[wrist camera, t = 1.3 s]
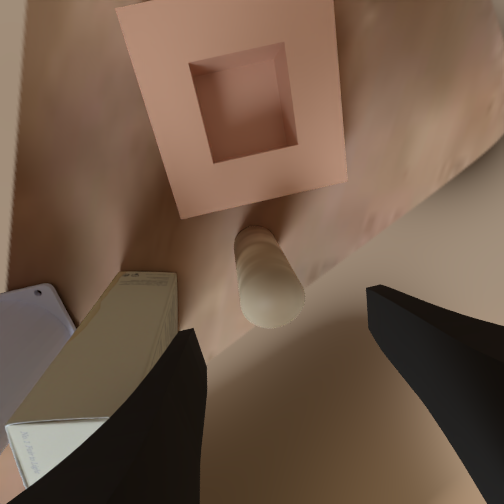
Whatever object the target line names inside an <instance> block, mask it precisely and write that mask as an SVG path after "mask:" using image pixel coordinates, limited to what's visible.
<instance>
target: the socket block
mask: <svg viewBox="0 0 504 504" xmlns="http://www.w3.org/2000/svg"><path fill="white" fill-rule="evenodd" d="M115 10H116V13H117V16H118V20H119V23H120V26H121V29H122V32H123V36H124V39H125V42H126V45H127V48H128V52H129V55H130V58H131V61H132V64H133V68H134V71H135V74H136V77H137V80H138V84H139V87H140V90H141V93H142V96H143V100H144V103H145V106H146V109H147V112H148V116H149V119H150V122H151V125H152V128H153V132H154V135H155V138H156V141H157V144H158V148H159V151H160V154H161V157H162V160H163V164H164V167H165V170H166V173H167V176H168V180H169V183H170V186H171V189H172V192H173V196H174V199H175V202H176V205H177V208H178V212H179V215H180V218H181V220H182V219H186V218H190V217H195V216H199V215H203V214H208V213H212V212H216V211H221V210H225V209H230V208H234V207H238V206H243V205H247V204H251V203H256V202H260V201H264V200H269V199H273V198H278V197H282V196H286V195H291V194H295V193H299V192H304V191H308V190H312V189H317V188H321V187H326V186H330V185H334V184H339V183H343V182H347V181H348V178H347V165H346V153H345V140H344V128H343V115H342V102H341V90H340V77H339V64H338V52H337V39H336V26H335V14H334V1H333V0H152V1H147V2H142V3H138V4H133V5H128V6H124V7H119V8H115Z"/></svg>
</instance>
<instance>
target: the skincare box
mask: <svg viewBox="0 0 504 504" xmlns="http://www.w3.org/2000/svg"><path fill="white" fill-rule="evenodd" d="M177 333H178V297H177V275H176V273H168V272H133V271H132V272H119V273H118V274H117V275H116V277H115V278H114V279H113V281H112V282H111V283H110V285H109V286H108V287H107V289H106V290H105V291H104V293H103V294H102V295H101V297H100V298H99V300H98V301H97V302H96V304H95V305H94V306H93V308H92V309H91V310H90V312H89V313H88V314H87V316H86V317H85V318H84V320H83V321H82V322H81V324H80V325H79V326H78V328H77V329H76V331H75V332H74V333H73V335H72V336H71V337H70V339H69V340H68V341H67V343H66V344H65V346H64V347H63V348H62V349H61V351H60V352H59V354H58V355H57V356H56V358H55V359H54V360H53V362H52V363H51V364H50V366H49V367H48V368H47V370H46V371H45V372H44V374H43V375H42V376H41V378H40V379H39V380H38V382H37V383H36V385H35V386H34V387H33V388H32V390H31V391H30V393H29V394H28V395H27V397H26V398H25V399H24V400H23V402H22V403H21V404H20V406H19V407H18V408H17V410H16V411H15V413H14V414H13V415H12V417H11V418H10V419H9V420H8V422H7V423H6V425H5V430H6V433H7V436H8V440H9V443H10V447H11V450H12V452H13V455H14V459H15V461H16V464H17V467H18V470H19V473H20V476H21V478H22V480H23V484H24V486H25V489H27V488H28V487H30V486H31V485H32V484H34V483H35V482H36V481H38V480H39V479H40V478H41V477H43V476H44V475H45V474H47V473H48V472H49V471H50V470H52V469H53V468H54V467H55V466H56V465H58V464H59V463H60V462H61V461H62V460H64V459H65V458H66V457H67V456H68V455H70V454H71V453H72V452H73V451H74V450H75V449H77V448H78V447H79V446H80V445H81V444H82V443H83V442H84V441H85V440H87V439H88V438H89V437H90V436H91V435H92V434H93V433H94V432H95V431H96V430H97V429H98V428H99V427H100V426H101V425H102V424H103V423H105V422H106V421H107V420H108V419H109V418H110V417H111V416H112V415H113V414H114V413H115V411H116V410H117V409H118V408H119V407H120V406H121V405H122V404H123V403H124V402H125V401H126V400H127V399H128V397H129V396H130V395H131V394H132V393H133V392H134V391H135V389H136V388H137V387H138V386H139V384H140V383H141V382H142V381H143V379H144V378H145V377H146V376H147V374H148V373H149V372H150V371H151V369H152V368H153V367H154V365H155V364H156V363H157V361H158V360H159V358H160V357H161V356H162V354H163V353H164V351H165V350H166V349H167V347H168V346H169V344H170V343H171V341H172V340H173V339H174V337H175V336H176V334H177Z"/></svg>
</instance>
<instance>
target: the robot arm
mask: <svg viewBox="0 0 504 504" xmlns="http://www.w3.org/2000/svg"><path fill="white" fill-rule="evenodd" d="M37 290H39V291H41V292H42V294H41V293H39V292H38V291H37ZM366 294H367V311H368V328H369V330H370V332H371V333H372V335H373V337H374V339H375V341H376V342H377V344H378V345H379V347H380V348H381V350H382V351H383V352H384V354H385V355H386V357H387V358H388V359H389V360H390V362H391V363H392V364H393V365H394V367H395V368H396V369H397V370H398V372H399V373H400V374H401V375H402V377H403V378H404V379H405V380H406V382H407V383H408V384H409V385H410V387H411V388H412V389H413V390H414V392H415V393H416V394H417V395H418V396H419V398H420V399H421V400H422V402H423V403H424V404H425V406H426V407H427V409H428V410H429V412H430V413H431V414H432V416H433V418H434V419H435V421H436V422H437V423H438V425H439V427H440V428H441V430H442V431H443V433H444V434H445V436H446V437H447V439H448V440H449V442H450V444H451V445H452V447H453V448H454V450H455V451H456V453H457V455H458V456H459V458H460V459H461V461H462V463H463V464H464V466H465V468H466V469H467V471H468V473H469V474H470V476H471V478H472V479H473V481H474V482H475V484H476V486H477V488H478V489H479V491H480V493H481V494H482V496H483V498H484V499H485V501H486V502H487V504H504V326H501V325H497V324H494V323H490V322H486V321H483V320H479V319H475V318H472V317H469V316H465V315H462V314H459V313H456V312H453V311H450V310H447V309H444V308H442V307H439V306H436V305H433V304H431V303H428V302H425V301H423V300H420V299H418V298H415V297H412V296H410V295H407V294H405V293H402V292H400V291H397V290H395V289H392V288H389V287H387V286H384V285H377V286H372V287H368V288H366ZM75 331H76V327H75V325H74V324H73V322H72V320H71V318H70V316H69V314H68V312H67V311H66V309H65V307H64V305H63V303H62V301H61V299H60V298H59V296H58V294H57V292H56V290H55V288H54V287H53V286H52V285H51V284H48V283H43V284H39V285H35V286H30V287H26V288H22V289H17V290H13V291H9V292H4V293H1V294H0V455H1V453H2V452H3V450H4V449H5V448H6V446H7V445H8V443H9V440H8V436H7V433H6V430H5V425H6V423H7V422H8V420H9V419H10V418H11V417H12V415H13V414H14V413H15V411H16V410H17V408H18V407H19V406H20V404H21V403H22V402H23V400H24V399H25V398H26V397H27V395H28V394H29V393H30V391H31V390H32V388H33V387H34V386H35V385H36V383H37V382H38V380H39V379H40V378H41V376H42V375H43V374H44V372H45V371H46V370H47V368H48V367H49V366H50V364H51V363H52V362H53V360H54V359H55V358H56V356H57V355H58V354H59V352H60V351H61V349H62V348H63V347H64V346H65V344H66V343H67V341H68V340H69V339H70V337H71V336H72V335H73V333H74V332H75ZM206 398H207V366H206V363H205V360H204V358H203V355H202V352H201V349H200V346H199V343H198V340H197V337H196V334H195V331H194V328H191V329H187V330H183V331H179V332H178V333H177V334H176V336H175V337H174V339H173V340H172V341H171V343H170V344H169V346H168V347H167V349H166V350H165V351H164V353H163V354H162V356H161V357H160V358H159V360H158V361H157V363H156V364H155V365H154V367H153V368H152V369H151V371H150V372H149V373H148V374H147V376H146V377H145V378H144V379H143V381H142V382H141V383H140V384H139V386H138V387H137V388H136V389H135V391H134V392H133V393H132V394H131V395H130V396H129V397H128V399H127V400H126V401H125V402H124V403H123V404H122V405H121V406H120V407H119V408H118V409H117V410H116V411H115V413H114V414H113V415H112V416H111V417H110V418H109V419H108V420H107V421H106V422H105V423H103V424H102V425H101V426H100V427H99V428H98V429H97V430H96V431H95V432H94V433H93V434H92V435H91V436H90V437H89V438H88V439H87V440H85V441H84V442H83V443H82V444H81V445H80V446H79V447H78V448H77V449H75V450H74V451H73V452H72V453H71V454H70V455H68V456H67V457H66V458H65V459H64V460H62V461H61V462H60V463H59V464H58V465H56V466H55V467H54V468H53V469H52V470H50V471H49V472H48V473H47V474H45V475H44V476H43V477H41V478H40V479H39V480H38V481H36V482H35V483H34V484H32V485H31V486H30V487H28V488H27V489H26V490H24V491H23V492H22V493H20V494H19V495H18V496H16V497H15V498H14V499H12V500H11V501H10V502H8V503H7V504H200V457H201V445H202V436H203V427H204V417H205V408H206Z"/></svg>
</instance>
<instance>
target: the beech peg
mask: <svg viewBox="0 0 504 504" xmlns="http://www.w3.org/2000/svg"><path fill="white" fill-rule="evenodd" d="M234 253H235V262H236V270H237V279H238V288H239V296H240V305H241V310H242V312H243V314H244V316H245V317H246V318H247V319H248V320H249V321H250V322H251V323H253V324H254V325H256V326H259V327H262V328H277V327H281V326H284V325H286V324H288V323H290V322H291V321H293V320H294V319H295V318H296V317H297V316H298V315H299V313H300V312H301V310H302V308H303V306H304V302H305V293H304V289H303V287H302V285H301V283H300V281H299V280H298V278H297V276H296V274H295V273H294V271H293V269H292V267H291V266H290V264H289V262H288V260H287V258H286V257H285V255H284V253H283V251H282V250H281V248H280V246H279V244H278V243H277V241H276V239H275V237H274V236H273V234H272V233H271V232H270V231H269V230H268V229H266V228H264V227H261V226H250V227H247V228H245V229H243V230H242V231H241V232H240V233H239V234H238V235H237V237H236V239H235V242H234Z"/></svg>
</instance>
